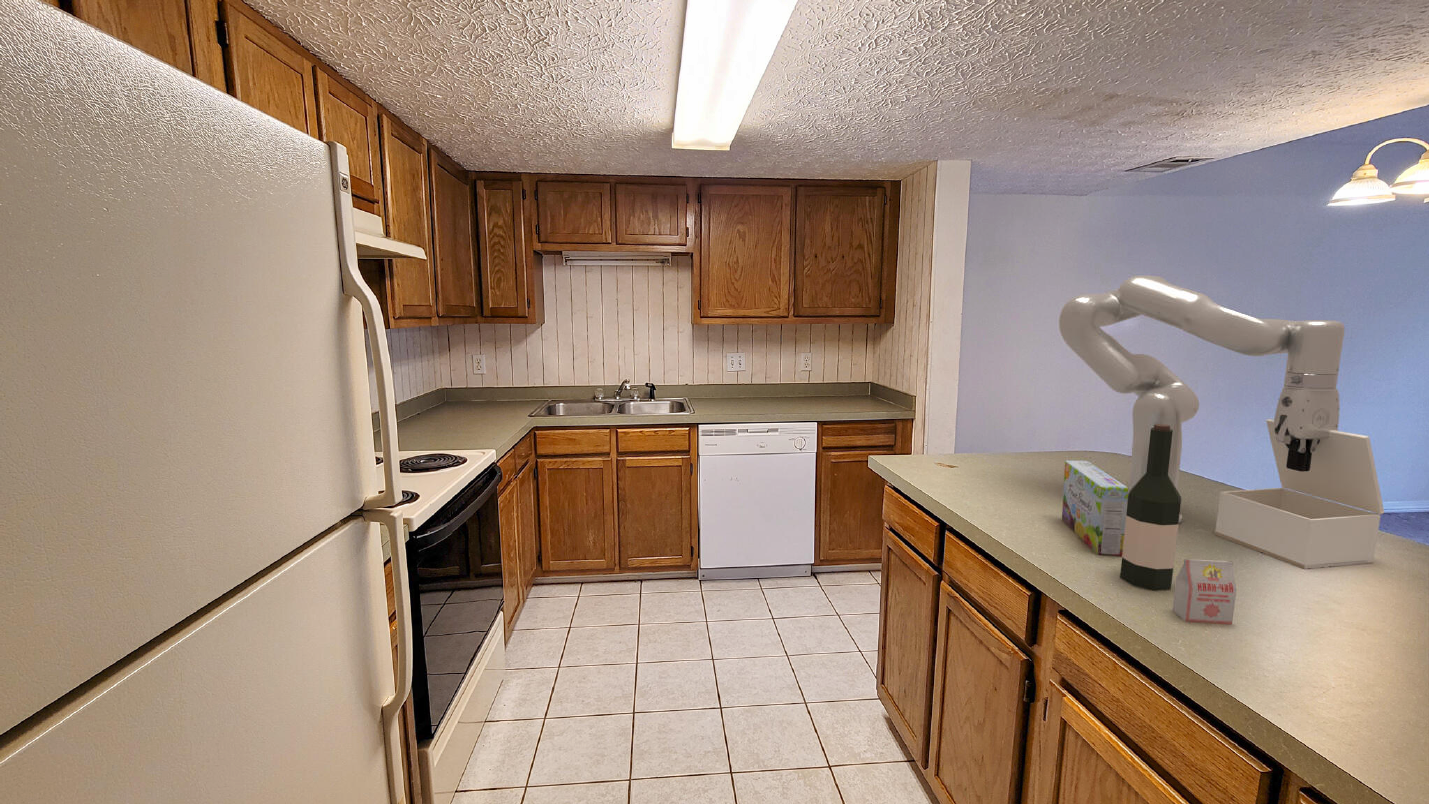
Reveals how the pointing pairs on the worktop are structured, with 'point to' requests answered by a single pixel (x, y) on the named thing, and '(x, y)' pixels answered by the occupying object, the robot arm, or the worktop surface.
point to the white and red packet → (1205, 591)
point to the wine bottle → (1152, 519)
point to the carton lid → (1334, 470)
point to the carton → (1298, 527)
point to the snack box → (1095, 507)
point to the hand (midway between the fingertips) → (1297, 469)
